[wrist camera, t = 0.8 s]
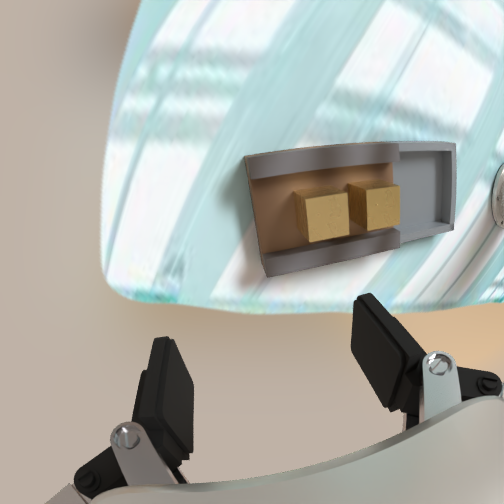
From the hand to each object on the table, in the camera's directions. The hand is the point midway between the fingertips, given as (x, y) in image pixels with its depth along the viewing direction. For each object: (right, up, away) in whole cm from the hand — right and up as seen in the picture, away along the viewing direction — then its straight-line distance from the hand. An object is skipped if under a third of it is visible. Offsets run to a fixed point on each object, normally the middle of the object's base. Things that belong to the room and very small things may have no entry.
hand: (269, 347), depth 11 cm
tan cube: (+11, +10, +17) cm, 23 cm away
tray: (+20, +12, +20) cm, 31 cm away
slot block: (+7, +10, +19) cm, 22 cm away
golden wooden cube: (+6, +8, +17) cm, 20 cm away
